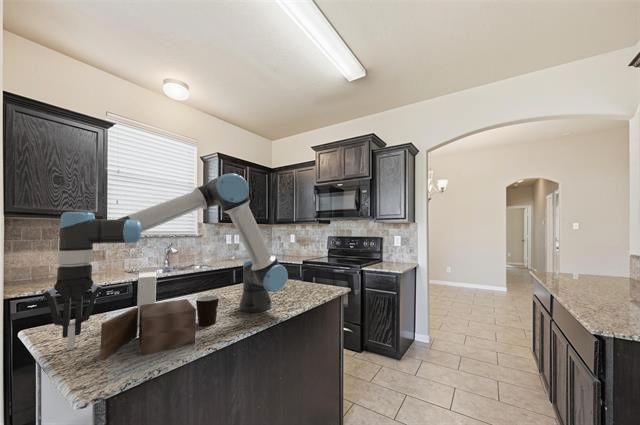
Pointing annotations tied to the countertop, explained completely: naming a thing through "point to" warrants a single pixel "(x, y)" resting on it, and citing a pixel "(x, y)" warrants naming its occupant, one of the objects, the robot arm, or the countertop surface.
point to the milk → (146, 287)
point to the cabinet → (166, 326)
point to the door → (118, 332)
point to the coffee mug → (207, 310)
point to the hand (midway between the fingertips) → (71, 347)
